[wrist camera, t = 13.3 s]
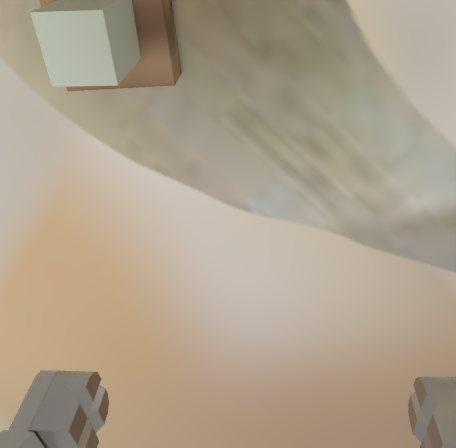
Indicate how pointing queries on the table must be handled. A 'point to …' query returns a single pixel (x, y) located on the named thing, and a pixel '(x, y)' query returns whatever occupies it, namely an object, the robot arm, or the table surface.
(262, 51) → the table surface
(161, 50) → the walnut block
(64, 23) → the sage block
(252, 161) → the table surface
